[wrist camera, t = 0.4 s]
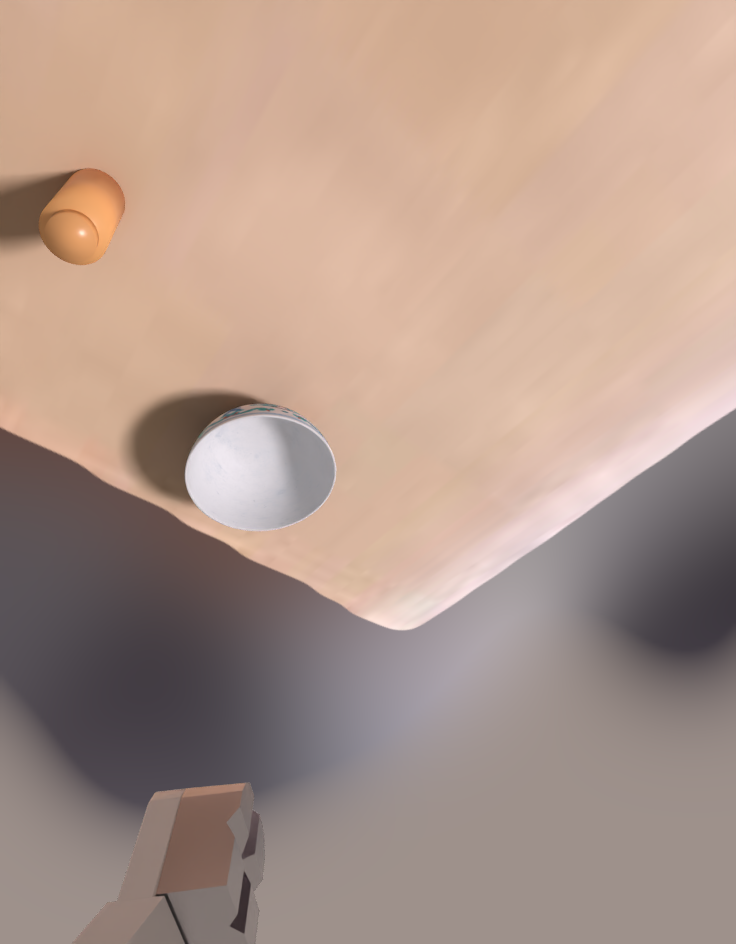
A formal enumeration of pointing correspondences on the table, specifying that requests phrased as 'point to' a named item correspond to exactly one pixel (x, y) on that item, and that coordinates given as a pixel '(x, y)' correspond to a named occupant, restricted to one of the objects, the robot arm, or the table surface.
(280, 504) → the chinaware
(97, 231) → the orange cylinder
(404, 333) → the table surface
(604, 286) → the table surface
